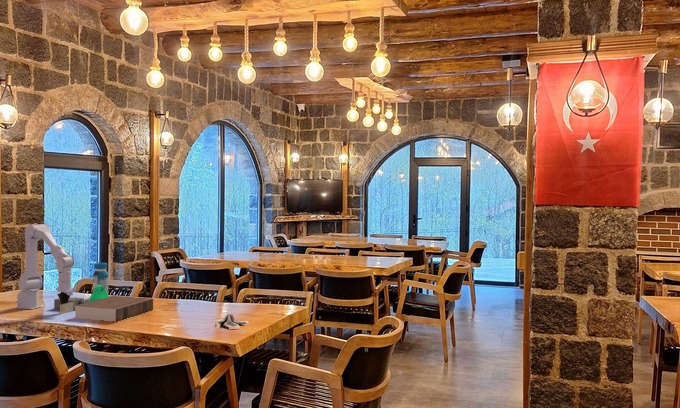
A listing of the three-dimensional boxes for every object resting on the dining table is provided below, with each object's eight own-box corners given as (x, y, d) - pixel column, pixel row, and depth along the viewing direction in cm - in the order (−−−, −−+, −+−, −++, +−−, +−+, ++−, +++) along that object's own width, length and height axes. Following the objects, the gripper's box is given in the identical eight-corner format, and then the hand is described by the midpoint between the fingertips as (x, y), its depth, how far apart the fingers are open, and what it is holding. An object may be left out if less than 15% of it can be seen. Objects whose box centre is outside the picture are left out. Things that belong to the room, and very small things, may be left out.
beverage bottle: (104, 299, 311) (104, 264, 311) (89, 299, 311) (89, 264, 311) (111, 297, 319) (111, 262, 319) (96, 296, 319) (96, 262, 319)
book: (153, 311, 285) (153, 298, 284) (117, 323, 258) (117, 309, 257) (112, 308, 291) (112, 295, 291) (73, 319, 264) (73, 305, 264)
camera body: (54, 309, 284) (54, 298, 284) (63, 306, 291) (64, 295, 291) (76, 310, 281) (76, 299, 281) (86, 308, 288) (86, 297, 288)
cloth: (219, 320, 266) (219, 307, 266) (255, 323, 261) (255, 310, 261) (196, 331, 244) (196, 317, 244) (235, 334, 240) (235, 320, 240)
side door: (61, 314, 273) (61, 304, 273) (59, 313, 274) (59, 304, 273) (75, 310, 281) (75, 301, 281) (73, 310, 281) (73, 301, 281)
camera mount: (96, 307, 291) (96, 287, 291) (88, 305, 295) (88, 286, 295) (116, 303, 301) (116, 285, 301) (108, 302, 305) (108, 283, 305)
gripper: (79, 281, 274) (78, 308, 275) (66, 277, 284) (66, 304, 284) (64, 283, 269) (63, 310, 269) (52, 279, 279) (51, 305, 279)
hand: (64, 307), depth 276 cm, fingers closed, pressing on side door
